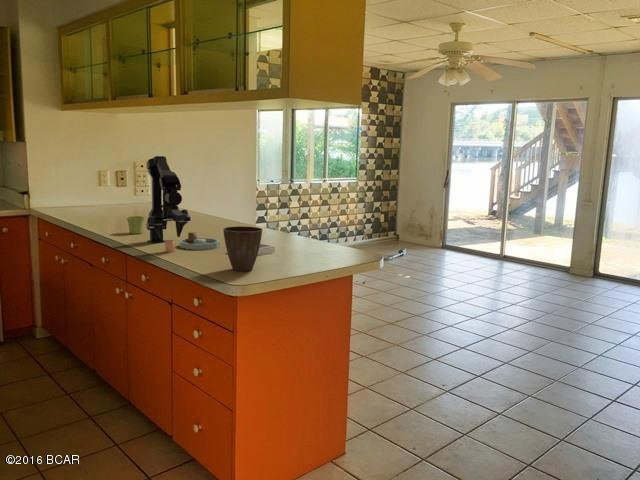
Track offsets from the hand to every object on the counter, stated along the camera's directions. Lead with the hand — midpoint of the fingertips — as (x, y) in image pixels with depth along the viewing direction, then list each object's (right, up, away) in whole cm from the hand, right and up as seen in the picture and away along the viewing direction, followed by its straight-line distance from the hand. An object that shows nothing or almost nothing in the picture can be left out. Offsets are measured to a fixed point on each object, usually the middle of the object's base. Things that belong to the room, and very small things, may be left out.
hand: (169, 238), depth 237 cm
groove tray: (+10, -4, +16) cm, 19 cm away
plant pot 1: (-31, +3, +47) cm, 57 cm away
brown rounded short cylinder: (+6, -2, +19) cm, 20 cm away
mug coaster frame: (+36, -6, +5) cm, 37 cm away
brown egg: (0, -6, +1) cm, 6 cm away
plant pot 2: (+36, -12, -29) cm, 48 cm away
